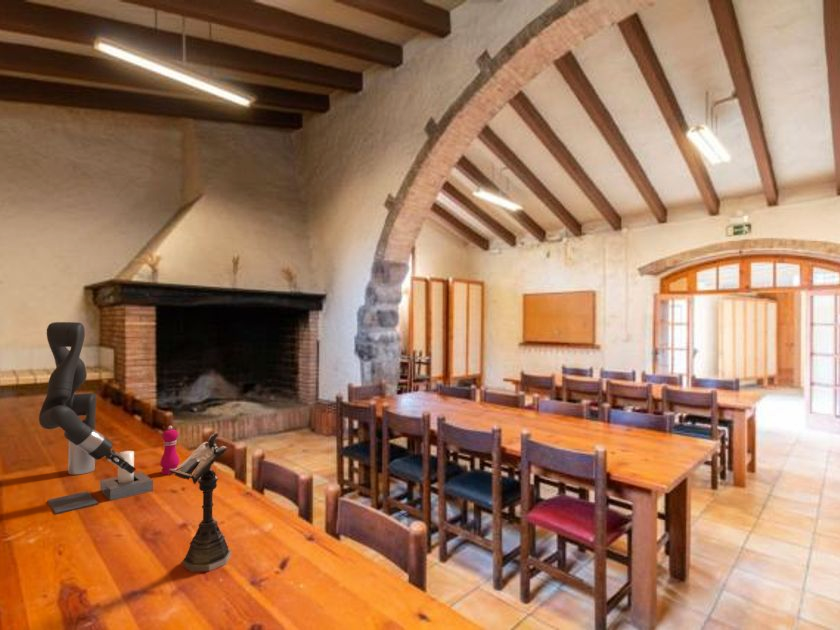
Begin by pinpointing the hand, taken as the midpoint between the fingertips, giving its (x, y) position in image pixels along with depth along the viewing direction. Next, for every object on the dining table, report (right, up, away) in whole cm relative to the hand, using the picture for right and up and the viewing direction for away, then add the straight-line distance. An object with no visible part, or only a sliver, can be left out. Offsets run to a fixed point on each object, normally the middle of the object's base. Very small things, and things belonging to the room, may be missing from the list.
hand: (131, 469), depth 184 cm
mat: (-13, -8, -13) cm, 20 cm away
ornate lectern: (+52, -8, -55) cm, 77 cm away
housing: (-1, -8, -1) cm, 8 cm away
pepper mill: (+4, -8, +20) cm, 22 cm away
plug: (-1, -7, -1) cm, 7 cm away
